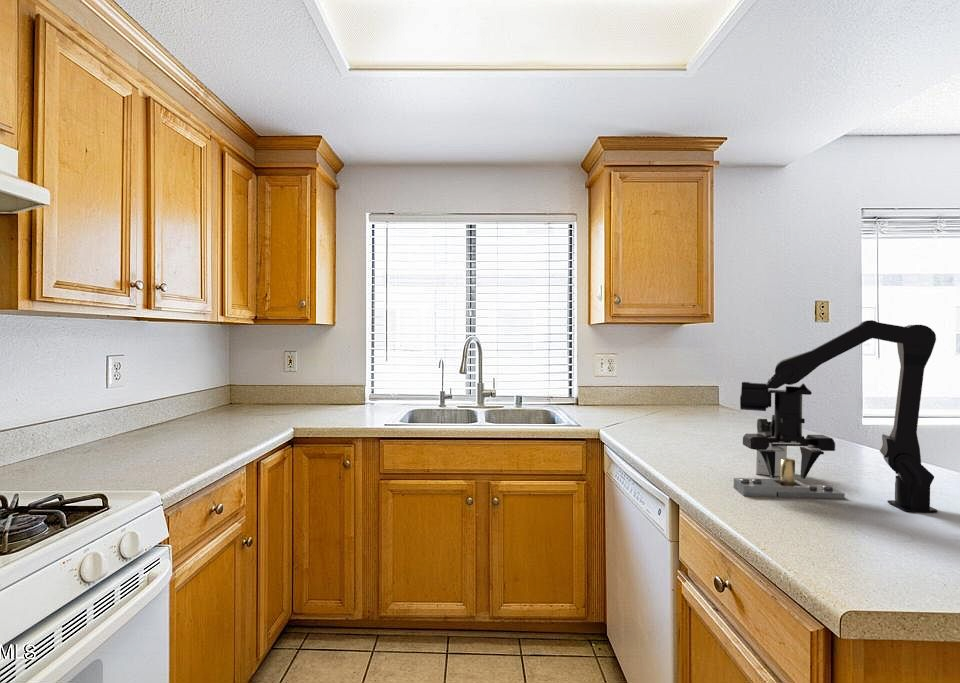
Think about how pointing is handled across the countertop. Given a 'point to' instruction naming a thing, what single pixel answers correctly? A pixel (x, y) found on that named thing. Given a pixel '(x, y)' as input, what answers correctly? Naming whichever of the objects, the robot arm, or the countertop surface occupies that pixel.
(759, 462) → the supplement box
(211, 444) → the countertop surface
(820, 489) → the lower chain end
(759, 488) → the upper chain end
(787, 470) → the brass pin
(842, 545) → the countertop surface
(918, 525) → the countertop surface
